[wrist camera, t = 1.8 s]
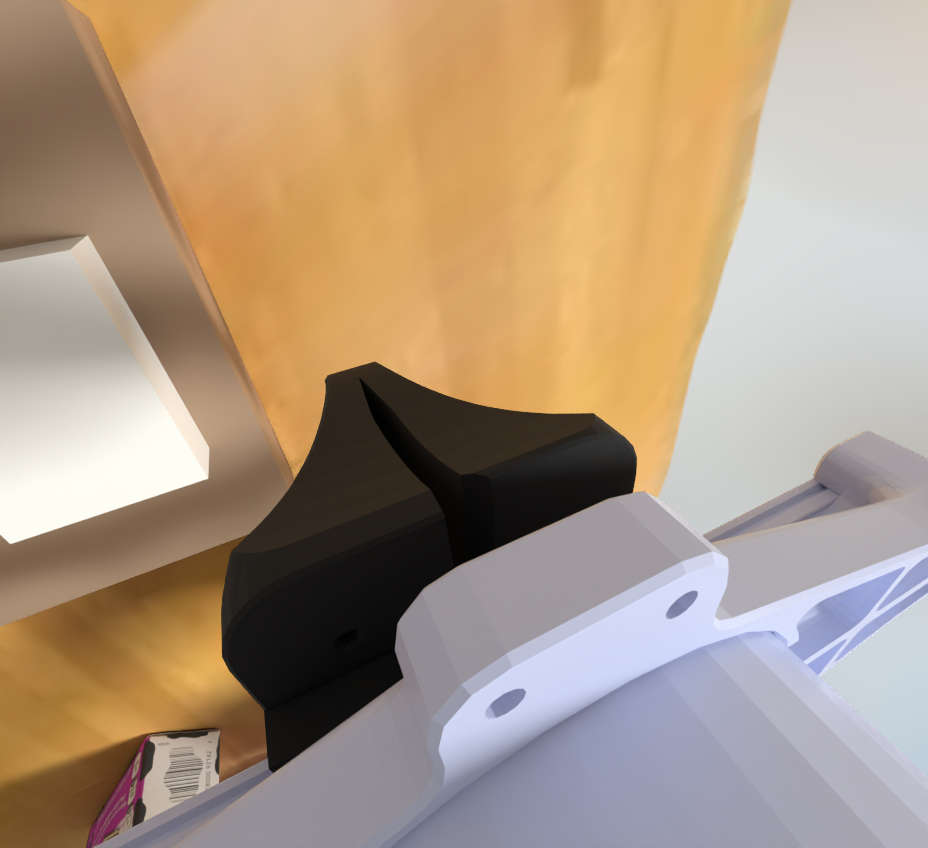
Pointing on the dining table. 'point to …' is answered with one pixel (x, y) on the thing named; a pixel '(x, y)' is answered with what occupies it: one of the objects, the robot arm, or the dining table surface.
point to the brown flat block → (147, 295)
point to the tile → (81, 396)
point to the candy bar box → (159, 780)
